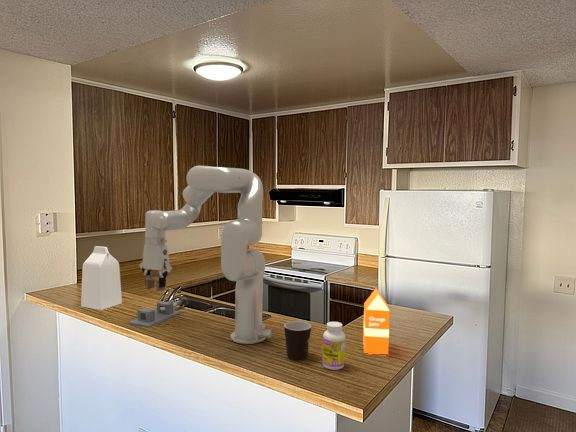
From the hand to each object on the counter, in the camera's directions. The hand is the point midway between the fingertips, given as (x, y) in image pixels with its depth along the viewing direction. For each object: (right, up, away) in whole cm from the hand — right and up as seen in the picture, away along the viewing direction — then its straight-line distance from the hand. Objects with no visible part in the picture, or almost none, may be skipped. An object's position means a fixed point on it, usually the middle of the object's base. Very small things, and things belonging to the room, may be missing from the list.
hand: (155, 285), depth 164 cm
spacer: (0, -1, 0) cm, 1 cm away
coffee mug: (+57, -17, -33) cm, 68 cm away
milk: (-30, -12, +18) cm, 37 cm away
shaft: (+4, -12, +11) cm, 16 cm away
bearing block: (0, -13, +1) cm, 13 cm away
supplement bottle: (+67, -17, -41) cm, 80 cm away
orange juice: (+82, -17, -28) cm, 88 cm away
